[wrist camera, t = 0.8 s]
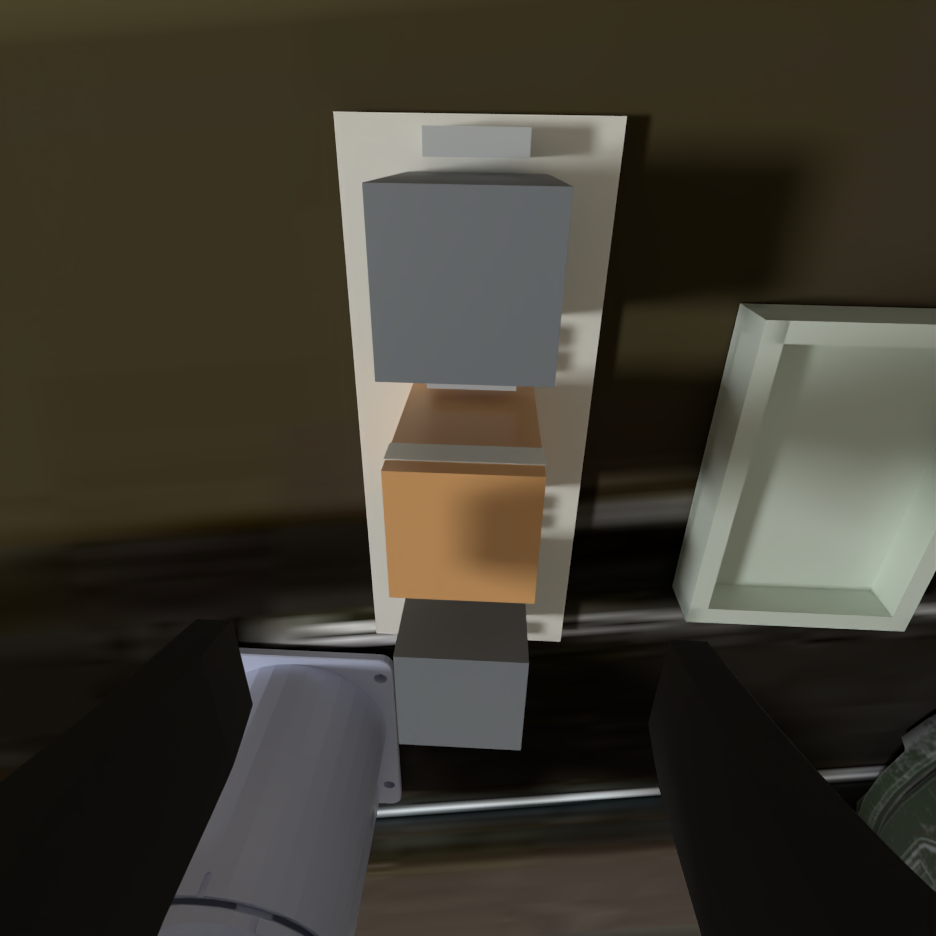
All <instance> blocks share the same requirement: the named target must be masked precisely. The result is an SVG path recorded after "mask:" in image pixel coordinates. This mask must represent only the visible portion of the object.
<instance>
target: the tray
mask: <svg viewBox="0 0 936 936" xmlns="http://www.w3.org/2000/svg"><path fill="white" fill-rule="evenodd" d="M935 571H936V309H933V308H895V307H857V306H819V305H781V304H742V303H740V306H739V310H738V314H737V319H736V323H735V327H734V331H733V335H732V339H731V344H730V348H729V352H728V356H727V360H726V364H725V369H724V373H723V377H722V381H721V385H720V389H719V394H718V398H717V402H716V406H715V410H714V414H713V419H712V423H711V427H710V431H709V435H708V439H707V444H706V448H705V452H704V456H703V460H702V464H701V469H700V473H699V477H698V481H697V485H696V489H695V493H694V498H693V502H692V506H691V510H690V514H689V518H688V523H687V527H686V531H685V535H684V539H683V543H682V548H681V552H680V556H679V560H678V564H677V568H676V573H675V577H674V581H673V585H672V587H673V590H674V592H675V595H676V597H677V600H678V602H679V605H680V607H681V610H682V612H683V615H684V617H685V620H686V622H705V623H727V624H750V625H772V626H795V627H817V628H839V629H862V630H884V631H905V629H906V627H907V625H908V623H909V622H910V620H911V618H912V616H913V614H914V612H915V610H916V608H917V606H918V604H919V602H920V600H921V598H922V596H923V594H924V592H925V591H926V589H927V587H928V585H929V583H930V581H931V579H932V577H933V575H934V573H935Z"/></svg>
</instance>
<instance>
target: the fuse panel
mask: <svg viewBox="0 0 936 936" xmlns="http://www.w3.org/2000/svg"><path fill="white" fill-rule="evenodd" d="M333 113H334V125H335V137H336V150H337V162H338V174H339V186H340V198H341V210H342V222H343V234H344V246H345V258H346V270H347V282H348V294H349V306H350V318H351V331H352V343H353V355H354V367H355V379H356V391H357V403H358V415H359V427H360V439H361V451H362V463H363V475H364V487H365V499H366V511H367V524H368V536H369V548H370V560H371V572H372V584H373V596H374V608H375V620H376V632H377V633H383V634H398V636H397V641H396V646H395V650H394V655H393V662H394V677H395V692H396V707H397V722H398V738H399V744H408V745H427V746H446V747H465V748H484V749H503V750H521V743H522V732H523V722H524V711H525V700H526V689H527V679H528V668H529V656H528V640H535V641H556V642H560V641H561V633H562V625H563V617H564V609H565V601H566V593H567V586H568V578H569V570H570V562H571V554H572V546H573V538H574V530H575V523H576V515H577V507H578V499H579V491H580V483H581V475H582V468H583V460H584V452H585V444H586V436H587V428H588V420H589V412H590V405H591V397H592V389H593V381H594V373H595V365H596V357H597V349H598V342H599V334H600V326H601V318H602V310H603V302H604V294H605V287H606V279H607V271H608V263H609V255H610V247H611V239H612V231H613V224H614V216H615V208H616V200H617V192H618V184H619V176H620V168H621V161H622V153H623V145H624V137H625V129H626V121H627V116H582V115H518V114H454V113H390V112H333ZM413 383H427V388H436V389H467V390H499V391H516V386H524V387H533V388H534V395H535V402H536V409H537V416H538V423H539V430H540V437H541V444H542V448H544V453H545V460H546V486H545V497H544V507H543V518H542V529H541V539H540V550H539V561H538V572H537V582H536V593H535V604H528V603H505V602H482V601H459V600H437V599H414V598H391V597H389V585H388V570H387V555H386V540H385V525H384V509H383V494H382V479H381V470H382V467H383V464H384V456H385V454H386V451H387V448H388V446H389V443H391V442H392V440H393V437H394V434H395V431H396V429H397V426H398V423H399V421H400V418H401V415H402V412H403V410H404V407H405V404H406V401H407V399H408V396H409V393H410V391H411V388H412V385H413Z"/></svg>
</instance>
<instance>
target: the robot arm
mask: <svg viewBox="0 0 936 936" xmlns="http://www.w3.org/2000/svg"><path fill="white" fill-rule="evenodd" d="M379 674H381V675H379ZM382 675H384V676H382ZM648 726H649V732H650V738H651V744H652V750H653V756H654V762H655V767H656V773H657V778H658V784H659V789H660V793H661V796H662V800H663V803H664V807H665V811H666V814H667V818H668V821H669V825H670V828H671V832H672V835H673V839H674V842H675V846H676V849H677V853H678V856H679V859H680V863H681V866H682V870H683V873H684V877H685V880H686V883H687V887H688V890H689V894H690V897H691V901H692V904H693V908H694V911H695V914H696V918H697V921H698V925H699V928H700V932H701V935H702V936H936V892H935V891H934V890H933V889H932V888H931V887H930V886H929V885H927V884H926V883H925V882H924V881H923V880H922V879H921V878H920V877H919V876H918V875H917V874H916V873H915V872H914V871H913V870H912V869H911V868H910V867H909V866H908V865H907V864H906V863H905V862H904V861H903V860H902V859H901V858H900V857H899V856H898V855H897V854H896V853H895V852H894V851H893V850H892V849H891V848H890V847H889V846H888V845H887V844H886V843H885V842H884V841H883V840H882V839H881V838H880V837H879V836H878V835H877V834H876V833H875V832H874V831H873V830H872V829H871V828H870V827H869V826H868V825H867V824H866V823H865V822H864V821H863V820H862V819H861V817H860V816H859V815H858V814H857V813H856V812H855V811H854V810H853V809H852V808H851V807H850V806H849V805H848V804H847V803H846V802H845V801H844V800H843V799H842V797H841V796H840V795H839V794H838V793H837V792H836V791H835V790H834V789H833V788H832V787H831V786H830V784H829V783H828V782H827V781H826V780H825V779H824V778H823V777H822V776H821V775H820V773H819V772H818V771H817V770H816V769H815V768H814V767H813V766H812V764H811V763H810V762H809V761H808V760H807V759H806V758H805V757H804V755H803V754H802V753H801V752H800V751H799V750H798V749H797V748H796V746H795V745H794V744H793V743H792V742H791V741H790V740H789V739H788V737H787V736H786V735H785V734H784V733H783V732H782V730H781V729H780V728H779V727H778V726H777V725H776V723H775V722H774V721H773V720H772V719H771V718H770V716H769V715H768V714H767V713H766V712H765V710H764V709H763V708H762V707H761V706H760V705H759V703H758V702H757V701H756V700H755V699H754V697H753V696H752V695H751V694H750V693H749V691H748V690H747V689H746V688H745V687H744V685H743V684H742V683H741V682H740V680H739V679H738V678H737V677H736V676H735V674H734V673H733V672H732V671H731V670H730V668H729V667H728V666H727V665H726V663H725V662H724V661H723V660H722V659H721V657H720V656H719V655H718V654H717V653H716V651H715V650H714V649H713V648H712V647H711V646H710V644H709V643H708V642H701V641H678V640H669V642H668V646H667V650H666V654H665V658H664V662H663V666H662V670H661V674H660V678H659V682H658V686H657V690H656V694H655V699H654V703H653V707H652V711H651V715H650V719H649V723H648ZM401 794H402V785H401V770H400V755H399V740H398V724H397V709H396V694H395V679H394V664H393V661H392V660H391V659H390V657H388V656H386V655H382V654H363V653H342V652H320V651H299V650H278V649H257V648H239V646H238V642H237V638H236V634H235V629H234V625H233V621H223V620H201V619H197V620H195V621H194V622H193V623H192V624H190V625H189V626H188V627H187V628H186V629H184V630H183V631H182V632H181V633H180V634H179V635H177V636H176V637H175V638H174V639H173V640H172V641H171V642H169V643H168V644H167V645H166V646H165V647H164V648H163V649H161V650H160V651H159V652H158V653H157V654H156V655H154V656H153V657H152V658H151V659H150V660H149V661H148V662H146V663H145V664H144V665H143V666H142V667H141V668H140V669H138V670H137V671H136V672H135V673H134V674H133V675H131V676H130V677H129V678H128V679H127V680H126V681H124V682H123V683H122V684H121V685H120V686H119V687H117V688H116V689H115V690H114V691H113V692H112V693H110V694H109V695H108V696H107V697H106V698H105V699H103V700H102V701H101V702H100V703H99V704H97V705H96V706H95V707H94V708H93V709H91V710H90V711H89V712H88V713H87V714H86V715H84V716H83V717H82V718H81V719H80V720H78V721H77V722H76V723H75V724H74V725H72V726H71V727H70V728H69V729H67V730H66V731H65V732H64V733H62V734H61V735H60V736H59V737H57V738H56V739H55V740H54V741H52V742H51V743H50V744H48V745H47V746H46V747H45V748H43V749H42V750H41V751H40V752H38V753H37V754H36V755H35V756H33V757H32V758H31V759H29V760H28V761H27V762H26V763H24V764H23V765H22V766H21V767H19V768H18V769H17V770H16V771H14V772H13V773H12V774H10V775H9V776H8V777H7V778H5V779H4V780H3V781H2V782H0V936H354V935H355V930H356V924H357V919H358V914H359V908H360V903H361V897H362V892H363V886H364V881H365V875H366V870H367V865H368V859H369V854H370V848H371V843H372V837H373V832H374V827H375V821H376V816H377V810H378V805H379V803H396V802H398V801H399V800H400V799H401Z"/></svg>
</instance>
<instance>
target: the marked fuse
mask: <svg viewBox="0 0 936 936" xmlns="http://www.w3.org/2000/svg"><path fill="white" fill-rule="evenodd" d="M381 479H382V494H383V509H384V525H385V540H386V555H387V570H388V585H389V597H391V598H414V599H437V600H459V601H482V602H505V603H528V604H535V593H536V582H537V572H538V561H539V550H540V539H541V529H542V518H543V507H544V497H545V486H546V460H545V453H544V448H542V444H541V437H540V430H539V423H538V416H537V409H536V402H535V395H534V388H533V387H524V386H516V391H499V390H467V389H436V388H427V383H413V385H412V388H411V391H410V393H409V396H408V399H407V401H406V404H405V407H404V410H403V412H402V415H401V418H400V421H399V423H398V426H397V429H396V431H395V434H394V437H393V440H392V442H391V443H389V446H388V448H387V451H386V454H385V456H384V464H383V467H382V470H381Z"/></svg>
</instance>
